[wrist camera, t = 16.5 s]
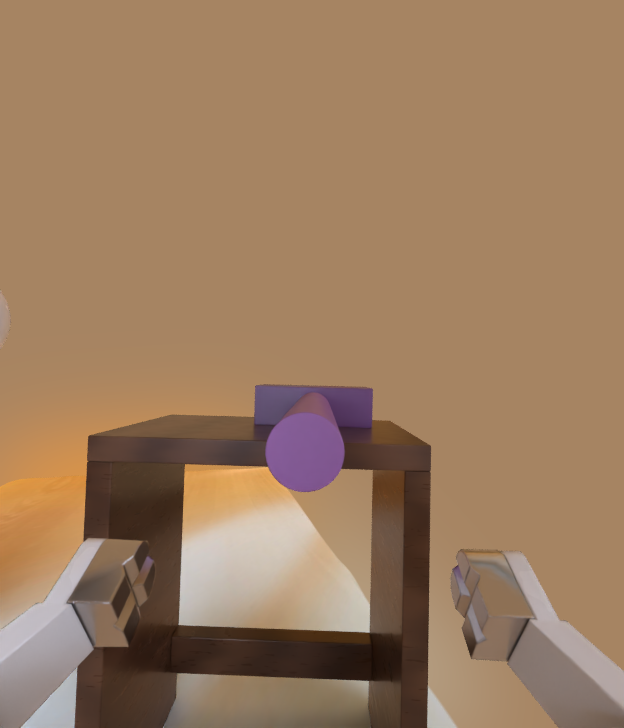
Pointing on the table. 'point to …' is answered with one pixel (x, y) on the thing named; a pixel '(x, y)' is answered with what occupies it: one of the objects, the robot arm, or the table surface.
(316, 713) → the table surface
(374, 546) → the bench
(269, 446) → the toy hammer
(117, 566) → the robot arm
